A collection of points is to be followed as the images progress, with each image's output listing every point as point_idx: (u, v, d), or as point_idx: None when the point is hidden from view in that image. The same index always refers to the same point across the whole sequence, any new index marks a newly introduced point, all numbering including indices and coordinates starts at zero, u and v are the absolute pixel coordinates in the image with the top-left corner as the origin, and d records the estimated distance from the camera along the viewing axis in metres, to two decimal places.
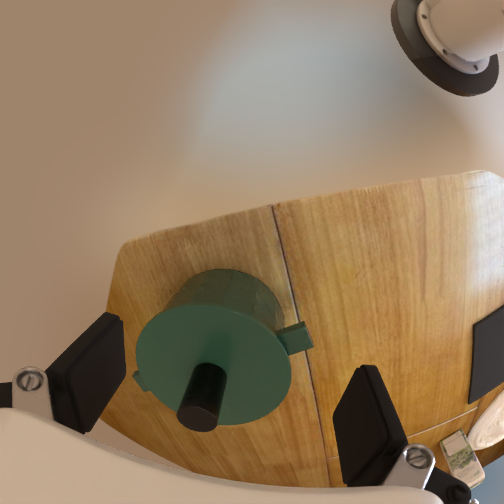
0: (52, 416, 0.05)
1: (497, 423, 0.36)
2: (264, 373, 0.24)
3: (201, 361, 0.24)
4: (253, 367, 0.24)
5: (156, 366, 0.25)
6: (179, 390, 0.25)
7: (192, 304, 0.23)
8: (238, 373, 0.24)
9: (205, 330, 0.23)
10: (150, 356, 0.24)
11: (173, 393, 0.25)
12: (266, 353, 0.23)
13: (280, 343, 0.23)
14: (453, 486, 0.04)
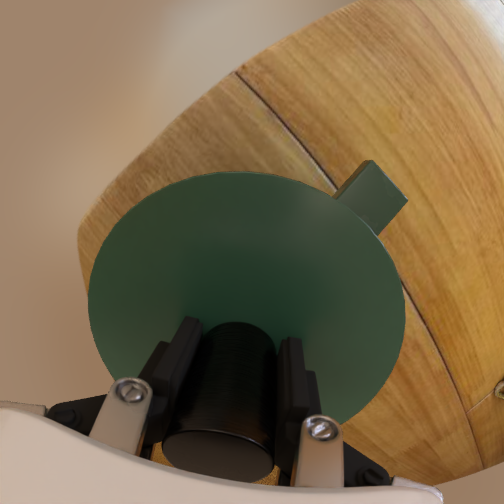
0: (140, 434, 0.05)
1: None
2: (344, 295, 0.11)
3: (206, 326, 0.11)
4: (316, 292, 0.11)
5: None
6: None
7: None
8: (291, 321, 0.11)
9: (178, 249, 0.11)
10: (123, 357, 0.12)
11: None
12: (326, 241, 0.10)
13: (343, 205, 0.10)
14: (368, 469, 0.06)
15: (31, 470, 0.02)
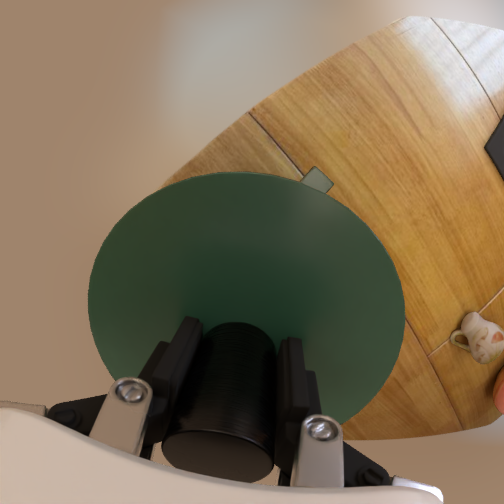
0: (140, 434, 0.05)
1: None
2: (343, 296, 0.11)
3: (206, 327, 0.11)
4: (316, 292, 0.11)
5: None
6: None
7: (134, 206, 0.10)
8: (290, 321, 0.11)
9: (178, 249, 0.11)
10: (123, 357, 0.12)
11: None
12: (325, 241, 0.10)
13: (343, 205, 0.10)
14: (368, 469, 0.06)
15: (31, 470, 0.02)
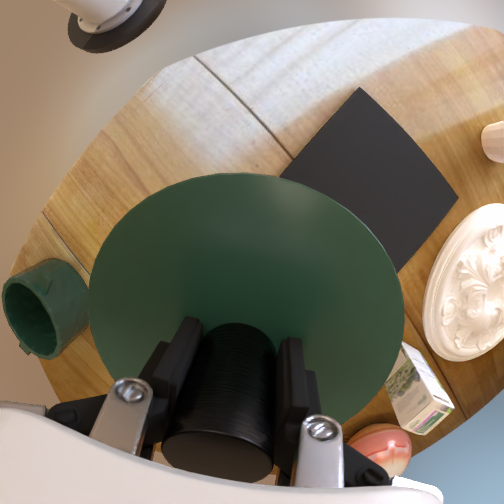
0: (140, 434, 0.05)
1: (466, 315, 0.35)
2: (343, 297, 0.11)
3: (205, 328, 0.11)
4: (316, 293, 0.11)
5: None
6: None
7: (134, 208, 0.10)
8: (290, 322, 0.11)
9: (178, 250, 0.11)
10: (123, 358, 0.12)
11: None
12: (325, 243, 0.10)
13: (343, 206, 0.10)
14: (367, 469, 0.06)
15: (31, 470, 0.02)
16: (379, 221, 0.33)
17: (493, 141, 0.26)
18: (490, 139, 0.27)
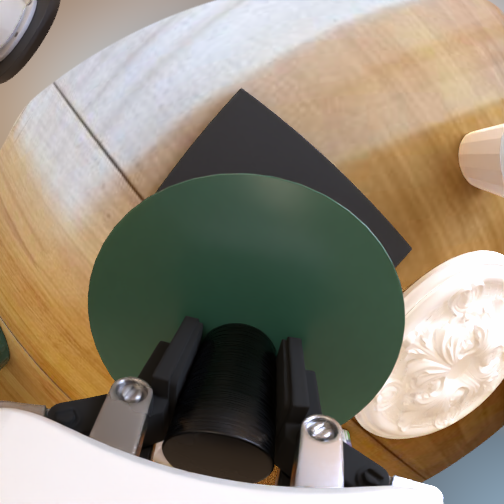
0: (140, 434, 0.05)
1: (414, 399, 0.26)
2: (343, 297, 0.11)
3: (206, 328, 0.11)
4: (316, 293, 0.11)
5: None
6: None
7: (134, 208, 0.10)
8: (290, 322, 0.11)
9: (178, 250, 0.11)
10: (123, 358, 0.12)
11: None
12: (325, 243, 0.10)
13: (343, 207, 0.10)
14: (368, 469, 0.06)
15: (31, 470, 0.02)
16: None
17: (476, 159, 0.18)
18: (472, 155, 0.18)
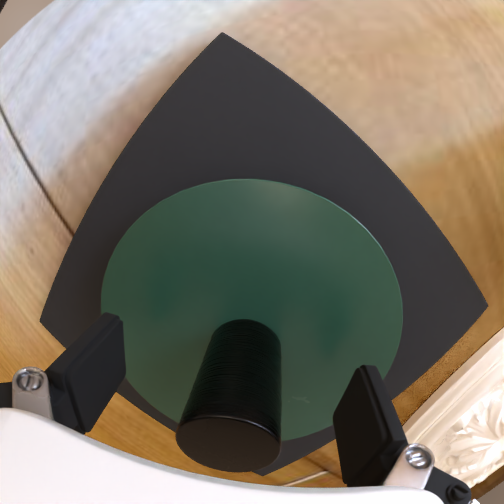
0: (52, 416, 0.05)
1: (449, 473, 0.15)
2: (344, 295, 0.11)
3: (215, 324, 0.12)
4: (319, 291, 0.11)
5: (152, 369, 0.13)
6: None
7: (148, 210, 0.11)
8: (295, 318, 0.12)
9: (190, 250, 0.11)
10: (134, 354, 0.13)
11: None
12: (328, 244, 0.11)
13: (344, 210, 0.11)
14: (452, 486, 0.04)
15: (31, 470, 0.02)
16: None
17: None
18: None
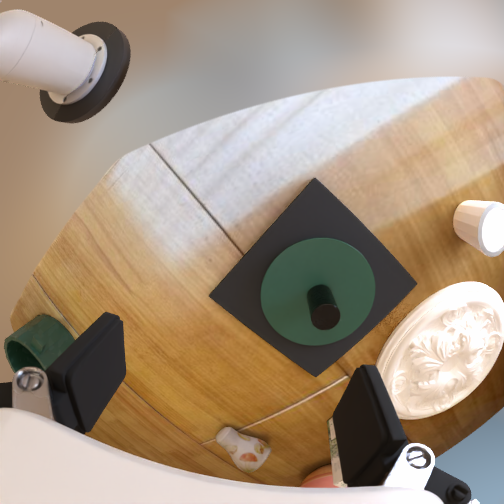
0: (52, 416, 0.05)
1: (418, 386, 0.37)
2: (354, 275, 0.34)
3: (310, 287, 0.34)
4: (345, 274, 0.34)
5: (280, 309, 0.36)
6: (302, 321, 0.36)
7: (289, 246, 0.34)
8: (337, 284, 0.34)
9: (304, 261, 0.34)
10: (273, 303, 0.35)
11: (298, 327, 0.36)
12: (348, 258, 0.33)
13: (354, 248, 0.33)
14: (452, 486, 0.04)
15: (31, 470, 0.02)
16: None
17: (464, 226, 0.29)
18: (461, 222, 0.30)
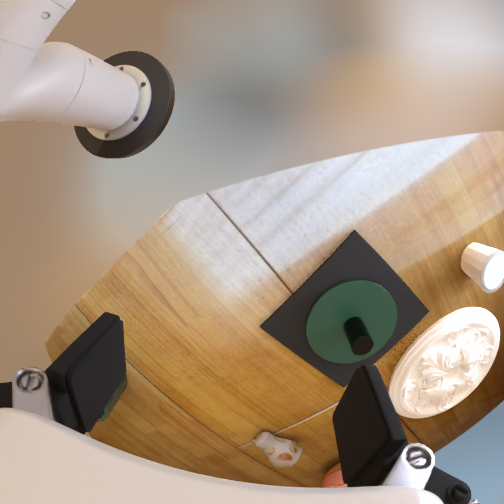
0: (52, 416, 0.05)
1: (425, 391, 0.44)
2: (381, 309, 0.40)
3: (346, 319, 0.40)
4: (375, 308, 0.40)
5: (321, 337, 0.42)
6: (338, 345, 0.42)
7: (332, 288, 0.39)
8: (368, 316, 0.40)
9: (343, 299, 0.40)
10: (316, 332, 0.41)
11: (335, 350, 0.42)
12: (378, 296, 0.39)
13: (383, 287, 0.39)
14: (453, 486, 0.04)
15: (31, 470, 0.02)
16: None
17: (470, 267, 0.35)
18: (468, 263, 0.36)
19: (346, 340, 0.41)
